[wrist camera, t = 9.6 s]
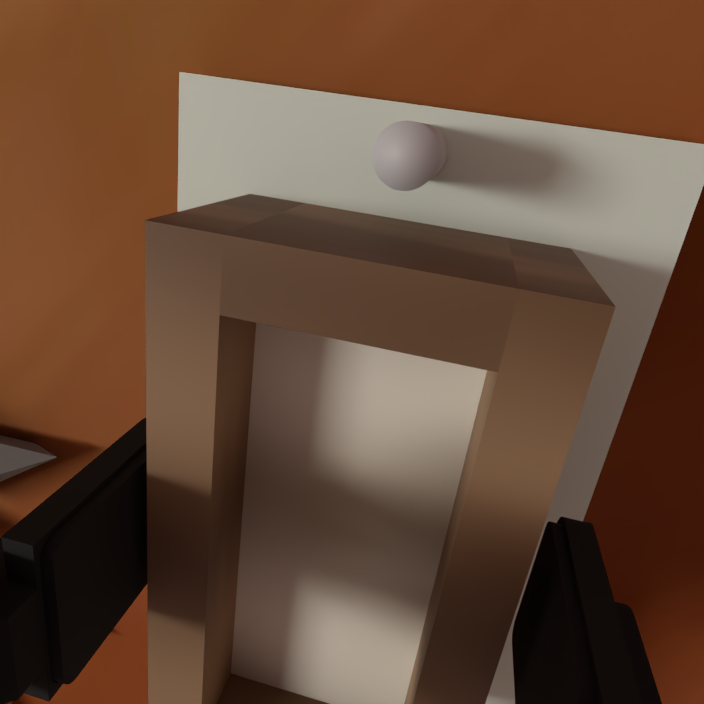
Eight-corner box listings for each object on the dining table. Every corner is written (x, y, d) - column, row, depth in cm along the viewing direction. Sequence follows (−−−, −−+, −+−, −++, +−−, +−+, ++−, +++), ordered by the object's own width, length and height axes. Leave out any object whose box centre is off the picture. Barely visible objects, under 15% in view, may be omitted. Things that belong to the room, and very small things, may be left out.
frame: (447, 683, 15) (435, 854, 12) (223, 618, 16) (148, 757, 13) (571, 248, 11) (616, 306, 7) (250, 193, 12) (145, 220, 8)
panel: (500, 709, 17) (504, 852, 14) (190, 619, 18) (123, 727, 15) (694, 145, 11) (789, 149, 7) (206, 77, 12) (101, 56, 9)
